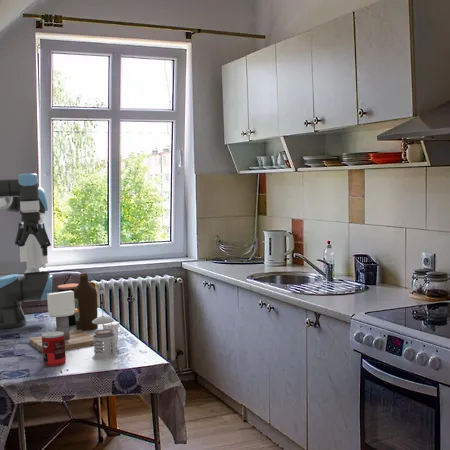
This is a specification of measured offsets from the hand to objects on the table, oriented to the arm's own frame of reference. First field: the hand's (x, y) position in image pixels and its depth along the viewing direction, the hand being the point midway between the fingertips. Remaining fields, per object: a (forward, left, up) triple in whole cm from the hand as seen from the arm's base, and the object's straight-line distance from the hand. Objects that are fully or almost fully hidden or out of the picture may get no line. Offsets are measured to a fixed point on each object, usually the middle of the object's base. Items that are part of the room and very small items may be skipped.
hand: (33, 262), depth 269 cm
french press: (+43, +13, -33) cm, 56 cm away
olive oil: (-9, +24, -33) cm, 42 cm away
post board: (+11, +7, -33) cm, 35 cm away
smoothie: (+31, +20, -33) cm, 50 cm away
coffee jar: (-24, +22, -33) cm, 47 cm away
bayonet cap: (+11, +7, -21) cm, 25 cm away
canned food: (+38, -5, -33) cm, 51 cm away
